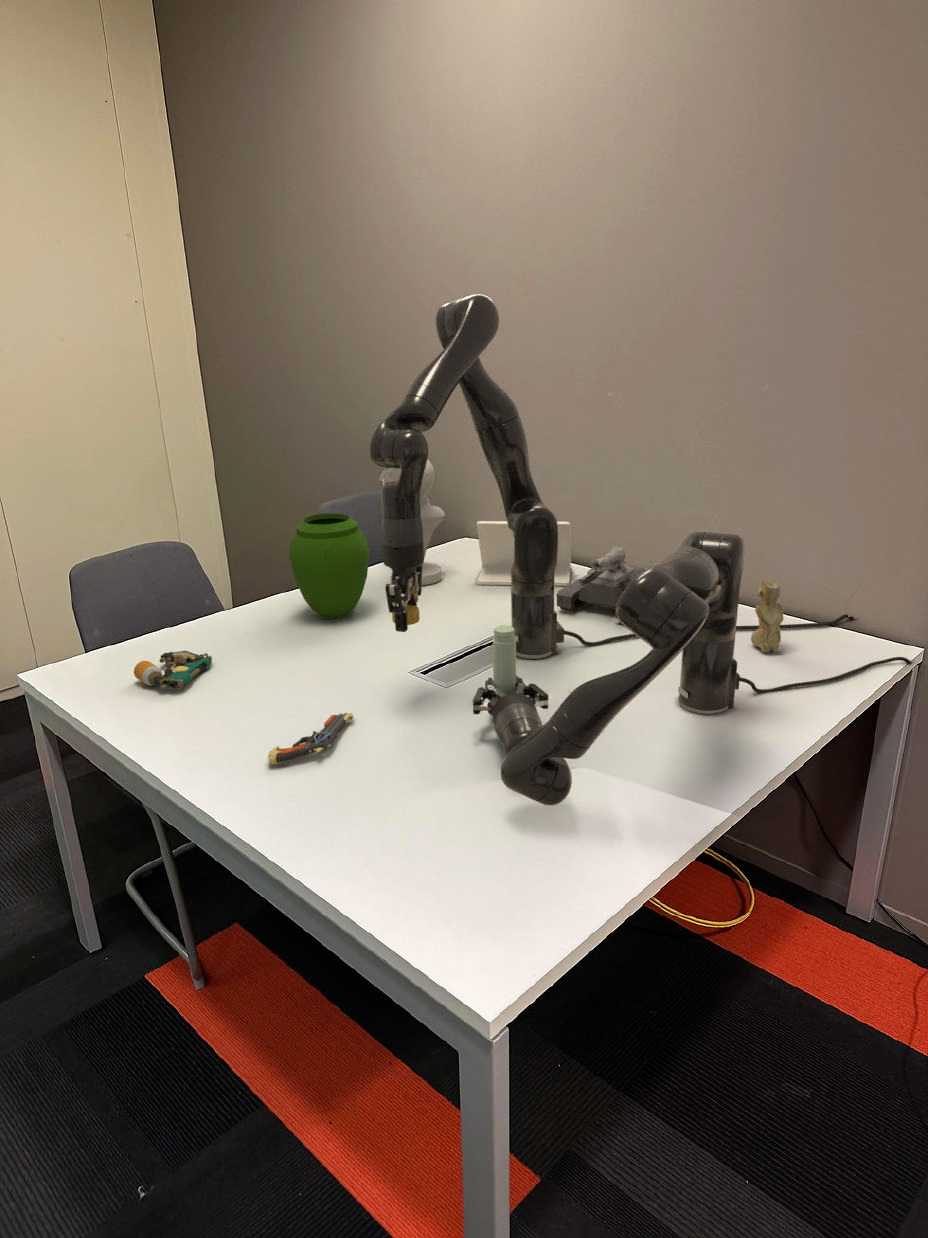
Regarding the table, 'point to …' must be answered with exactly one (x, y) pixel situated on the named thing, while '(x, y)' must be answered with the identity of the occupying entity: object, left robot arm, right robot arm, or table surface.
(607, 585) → the toy
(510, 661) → the jar
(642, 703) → the table surface
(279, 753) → the toy gun
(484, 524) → the tablet stand
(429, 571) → the bust sculpture
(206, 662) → the spray gun
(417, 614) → the lid
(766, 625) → the sculpture
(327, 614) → the vase
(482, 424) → the left robot arm
